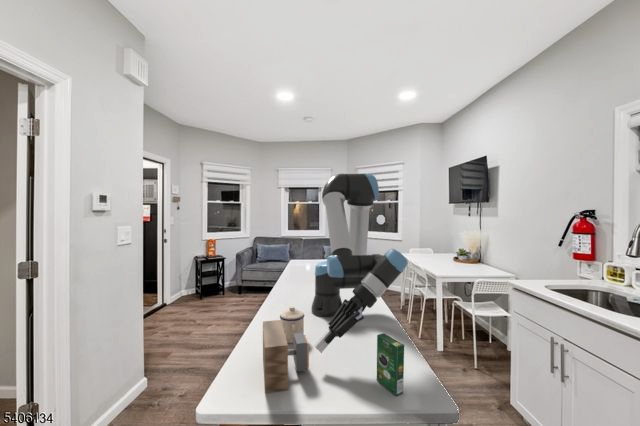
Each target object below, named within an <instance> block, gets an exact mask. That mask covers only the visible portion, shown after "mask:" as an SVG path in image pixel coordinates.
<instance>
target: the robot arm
mask: <svg viewBox="0 0 640 426" xmlns="http://www.w3.org/2000/svg"><path fill="white" fill-rule="evenodd" d="M378 183H379V182H378V179H377V178H376V176H375V175H373V174H370V173H338V174H335V175H333V176H332V177H331V178H329V179H328V180H327V182H326V183H325V184H324V186H323V189H322V194H321V199H322V204H323V205H324V206H325V212H326V220H327V228H328V237H329V245H330V251H331V255H329V256H328V257H327V258H326V259H327V260H325V261H321V262H319V263H317V264H316V265H315V268H314V276H315V279H314V281H315V282H314V297H313V300H312V302H311V313H312V314H313V315H315V316H319V317H323V318H324V317H327V318H328V317H332V318H331V319H330V320H329V322H328V329H327V330H325V332H324V333H323V334H322V336H321V337H320V338H319V339H318V340H317V341H316V342H315V343H314V347H315V349H316V350H317V351H319V353H321V354H322V353H323V352H324V351H325V349H326V348H327V347H328V346H329V345H330V344H331V343H332V341H334V339H335V338H337V337H338V338H342V337H343V336H344V335H345V334H346V333H347V332H349V331H350V330H351V329H352V328H354V326H355V325H356V324H358V323H359V322H360V321H363V320H364V318H365V316H364V315H363V312H365V309H366V308H369V309H370V308H371V309H372V307H373V306H374V305H375V303H377V300H378V298H381V296H382V295H384V294H385V292H386V290H388V288H390V286H391V285H392V284H393V283H394V282H395V280H397V278H398V277H399V276H400V275H401V274H402V273H403V272H404V271H405V269H406V267H408V264H409V261H408V259H407V258H406V257H405V256H404V255H403V254H402V253H401V252H400V251H398V250H397V249H395V248H390V249H388V250H387V251H386V252H385V253H384V254H383V255H382V254H380V253H375V254H374V253H373V254H368V251H367V250H368V238H369V236H368V235H369V222H370V209H371V208H372V207H373V206H374V202H375V201H377V200H379V196H380V189H379V184H378ZM346 201H347V203H346ZM345 203H346V205H348V207H349V209H350V211H349V224H348V221H347V215H346V210H345ZM348 226H349V227H348ZM341 289H344V290H345V289H346V290H347V289H353V290H352V294H353V296H352V297H351V298H350V299H349V300H348V299H344V300H342V298H341Z"/></svg>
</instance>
